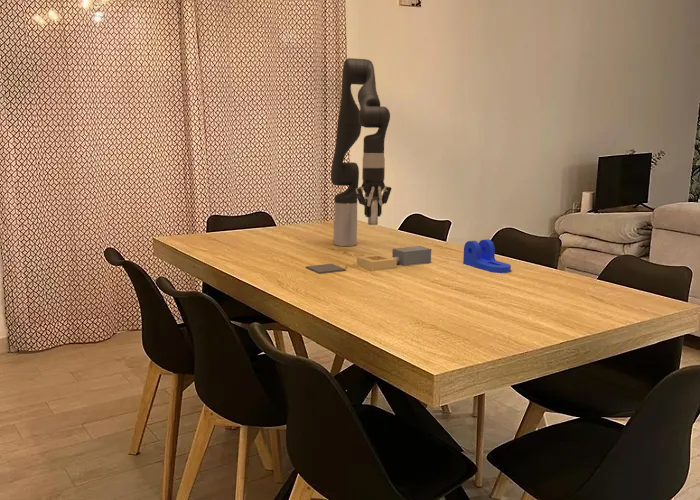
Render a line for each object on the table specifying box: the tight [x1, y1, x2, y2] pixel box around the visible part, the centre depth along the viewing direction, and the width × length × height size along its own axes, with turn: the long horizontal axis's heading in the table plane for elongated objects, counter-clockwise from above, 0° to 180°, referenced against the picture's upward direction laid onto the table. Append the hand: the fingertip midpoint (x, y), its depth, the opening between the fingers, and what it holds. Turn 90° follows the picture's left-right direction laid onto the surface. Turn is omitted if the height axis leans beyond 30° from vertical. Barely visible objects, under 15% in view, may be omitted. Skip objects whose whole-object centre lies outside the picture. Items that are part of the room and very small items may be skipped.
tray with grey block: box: [356, 245, 432, 271], centre depth 248 cm, size 26×10×5 cm, turn 121°
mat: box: [305, 263, 347, 275], centre depth 239 cm, size 10×10×1 cm
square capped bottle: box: [367, 196, 379, 226], centre depth 241 cm, size 3×3×10 cm
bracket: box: [462, 238, 512, 274], centre depth 245 cm, size 18×8×9 cm, turn 29°
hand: (372, 216), depth 241 cm, fingers closed on square capped bottle, 3 cm apart
